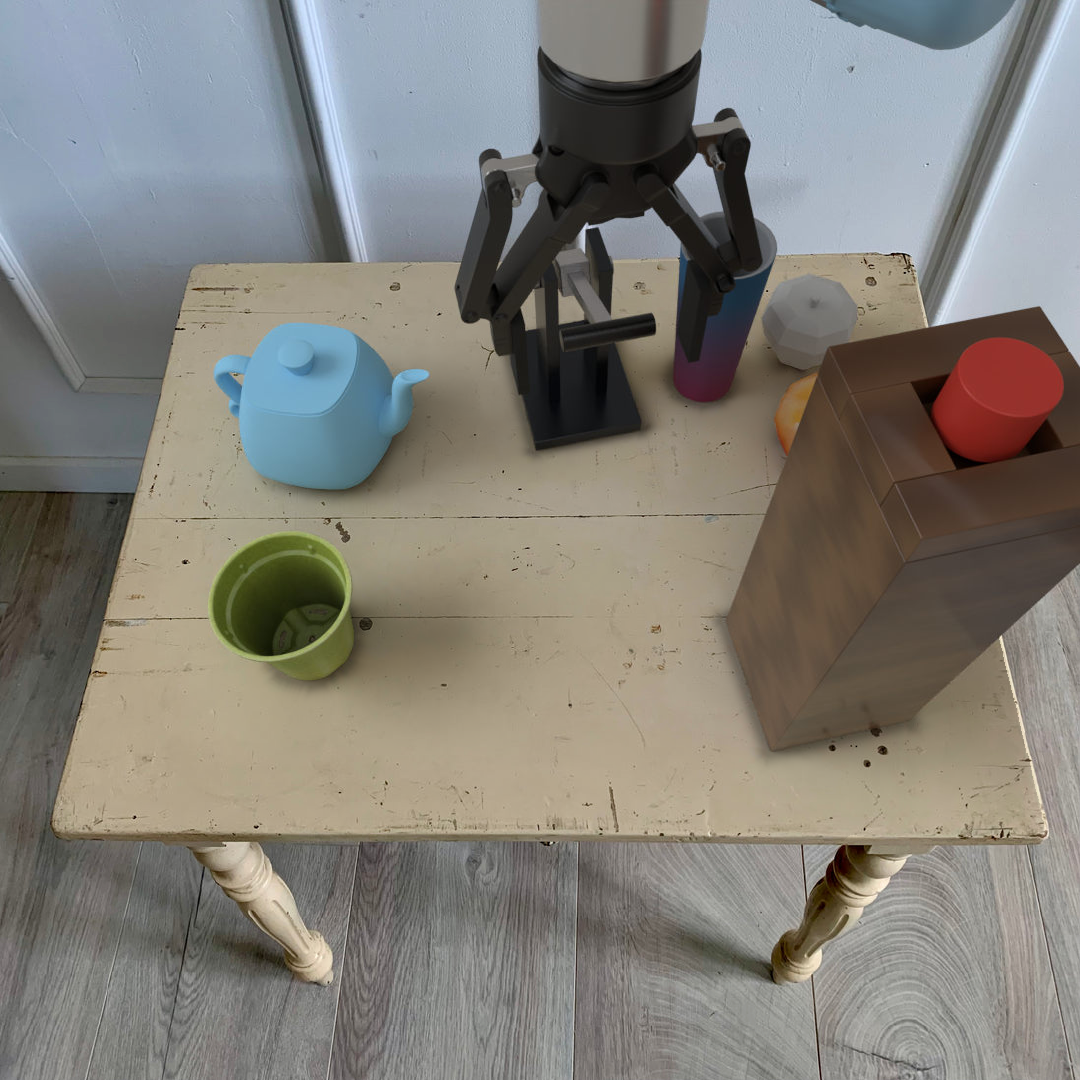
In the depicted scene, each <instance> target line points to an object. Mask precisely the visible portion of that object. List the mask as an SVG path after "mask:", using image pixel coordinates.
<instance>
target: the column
mask: <svg viewBox="0 0 1080 1080" xmlns="http://www.w3.org/2000/svg"><path fill="white" fill-rule="evenodd" d="M989 338H1011V339H1016V340H1020V341H1023V342H1026V343H1029V344H1031V345H1033V346H1035V347H1037V348H1038V349H1040V350H1041V351H1043V352H1044V353H1046V354H1047V355H1048V356H1049V357H1050V358H1051V359H1052V360H1053V361H1054V362H1055V364H1056V365H1057V366H1058V368H1059V370H1060V372H1061V374H1062V377H1063V382H1064V390H1063V395H1062V398H1061V400H1060V401H1059V403H1058V404H1057V405H1056V407H1055V408H1054V409H1053V411H1052V412H1051V413H1050V414H1049V416H1048V417H1047V418H1046V420H1045V421H1044V422H1043V424H1042V425H1041V426H1040V427H1039V429H1038V430H1037V431H1036V433H1035V434H1034V435H1033V436H1032V438H1031V439H1030V440H1029V442H1028V443H1027V444H1026V445H1025V447H1024V448H1023V449H1022V450H1021V451H1020V452H1019V453H1018V454H1017V455H1015V456H1014V457H1012V458H1009V459H1007V460H1004V461H1000V462H989V463H987V462H978V461H973V460H970V459H967V458H964V457H962V456H960V455H958V454H956V453H954V452H953V451H951V450H950V449H949V448H947V447H946V446H945V445H944V444H943V442H942V441H941V439H940V437H939V435H938V433H937V431H936V429H935V427H934V426H933V424H932V422H931V409H932V406H933V404H934V402H935V400H936V398H937V397H938V395H939V393H940V391H941V390H942V388H943V386H944V384H945V383H946V381H947V379H948V377H949V376H950V374H951V372H952V371H953V369H954V367H955V365H956V364H957V362H958V360H959V358H960V357H961V355H962V354H963V352H964V351H965V350H966V349H967V348H968V347H970V346H971V345H973V344H974V343H976V342H979V341H981V340H985V339H989ZM817 373H818V376H817V378H816V380H815V383H814V386H813V388H812V391H811V394H810V396H809V399H808V402H807V404H806V407H805V410H804V413H803V415H802V418H801V421H800V423H799V426H798V429H797V431H796V434H795V437H794V439H793V442H792V445H791V447H790V450H789V453H788V455H787V456H786V458H785V460H784V464H783V466H782V469H781V472H780V475H779V477H778V480H777V482H776V484H775V487H774V491H773V493H772V496H771V499H770V501H769V504H768V507H767V508H766V512H765V514H764V517H763V520H762V522H761V526H760V528H759V531H758V533H757V536H756V539H755V542H754V544H753V546H752V549H751V551H750V554H749V557H748V560H747V563H746V565H745V568H744V571H743V574H742V576H741V578H740V581H739V584H738V587H737V589H736V592H735V594H734V597H733V600H732V603H731V606H730V608H729V610H728V614H727V616H726V618H725V623H726V626H727V629H728V632H729V635H730V638H731V640H732V643H733V646H734V650H735V652H736V655H737V657H738V661H739V664H740V667H741V670H742V672H743V675H744V678H745V681H746V684H747V687H748V690H749V693H750V696H751V699H752V701H753V705H754V707H755V710H756V714H757V717H758V719H759V722H760V724H761V728H762V731H763V734H764V736H765V739H766V742H767V745H768V748H769V750H770V751H769V752H776V751H780V750H786V749H790V748H793V747H799V746H802V745H807V744H812V743H816V742H820V741H825V740H829V739H834V738H837V737H842V736H847V735H852V734H856V733H861V732H865V731H869V730H874V729H877V728H882V727H887V726H891V725H896V724H900V723H905V722H909V721H910V720H911V719H912V718H913V717H914V716H916V715H917V714H918V713H919V712H920V711H921V710H922V709H923V708H924V707H925V706H927V705H928V704H929V703H930V702H931V701H932V700H933V699H934V698H935V697H936V696H937V695H938V694H940V693H941V692H942V691H943V690H944V689H945V688H946V687H947V686H948V685H950V683H952V682H953V681H954V680H955V679H956V678H957V677H959V675H960V674H961V673H962V672H964V671H965V670H966V669H967V668H968V667H969V666H970V665H971V664H972V663H974V661H975V660H977V659H978V658H979V657H980V656H982V654H983V653H985V652H986V651H987V650H988V649H989V648H990V647H991V646H992V645H993V644H994V643H995V642H996V641H997V640H998V639H1000V638H1001V637H1002V636H1003V635H1004V634H1005V633H1006V632H1007V631H1008V630H1009V629H1011V627H1013V626H1014V625H1015V624H1016V623H1017V622H1018V621H1019V620H1020V619H1021V618H1022V617H1023V616H1025V614H1027V613H1028V612H1029V611H1030V610H1031V609H1032V608H1033V607H1034V606H1035V605H1036V604H1038V603H1039V602H1040V601H1041V600H1042V599H1043V598H1044V597H1045V596H1046V595H1047V594H1048V593H1050V592H1051V591H1052V590H1054V588H1055V587H1056V586H1057V585H1058V584H1060V582H1061V581H1063V580H1064V579H1065V578H1066V577H1067V576H1068V575H1069V574H1070V573H1071V572H1072V571H1073V570H1074V569H1075V568H1077V567H1078V566H1079V565H1080V365H1079V363H1078V361H1077V360H1076V358H1075V357H1074V356H1073V354H1072V353H1071V351H1069V348H1068V346H1067V345H1066V343H1065V341H1064V340H1063V339H1062V338H1061V336H1060V334H1059V332H1058V331H1057V330H1056V328H1055V327H1054V325H1053V324H1052V322H1051V320H1050V319H1049V318H1048V316H1047V315H1046V313H1045V312H1044V310H1043V308H1042V307H1041V306H1039V305H1037V306H1032V307H1027V308H1022V309H1018V310H1011V311H1006V312H1001V313H995V314H990V315H986V316H980V317H976V318H970V319H965V320H958V321H954V322H949V323H944V324H943V323H942V324H939V325H933V326H928V327H923V328H917V329H913V330H907V331H902V332H897V333H892V334H885V335H881V336H876V337H875V336H874V337H870V338H865V339H860V340H855V341H849V342H848V343H844V344H839V345H833V346H829V347H828V348H827V351H826V354H825V356H824V359H823V362H822V364H820V367H819V370H818V372H817Z"/></svg>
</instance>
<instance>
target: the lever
mask: <svg viewBox="0 0 1080 1080" xmlns="http://www.w3.org/2000/svg"><path fill="white" fill-rule="evenodd" d="M553 265H554V268H555V271H556V275H557V278H558V292H559V293H560V295H561V297H562V298H567V297H568V298H569V297H573V296H574V297H575V300H576V301H577V303H578V305H579V307H580V308H581V311H582V312H583V314H584V313H585V315H586V317H587V319H588V321H589V322H590V324H587V325H581V326H576V327H571V328H565V329H560V331H559V336H560V343H561V347H562V350H563V352H569V351H574V350H579V349H585V348H590V347H595V346H601V345H606V344H611V343H615V344H617V343H622V342H626V341H633V340H637V339H642V338H649V337H654V336H656V333H657V322H656V321H657V320H656V318H655V314H654V313H653V312H646V313H641V314H636V315H630V316H625V317H620V318H619V317H618V318H615V319H614V318H612V315H611V316H610V315H609V313H608V311H607V310H606V308H605V307H604V305H603V303H602V302H601V300H600V299H599V297H598V295H597V294H596V292H595V291H594V289H593V287H592V286H591V275H590V263H589V260H588V258H587V257H586V255H585V251H583V249H582V248H581V247H579V248H574V249H568V250H563V251H562V250H561V251H560V252H559V253H558V255H557V256H556V258H555V259H554V260H553Z"/></svg>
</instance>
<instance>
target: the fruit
mask: <svg viewBox="0 0 1080 1080" xmlns="http://www.w3.org/2000/svg"><path fill="white" fill-rule="evenodd" d="M817 376H818V372H815V373H812V374H810V375H807V376H804V377H802V378H801V379H798V380H797V381H795V382H792V383H791V384H790V385H789V386H788V388H787V389H786V391H785V393H784V395H783V396H782V397H781V399H780V401H779V404H778V407H777V409H776V412H775V415H774V418H773V422H774V425H775V431H776V435H777V438H778V441H779V444H780V446H781V448H782V450H783V452H784V454H785V456H786V457H787V455H788V453H789V450H790V447H791V445H792V442H793V439H794V437H795V434H796V431H797V429H798V426H799V423H800V421H801V418H802V415H803V413H804V410H805V407H806V404H807V402H808V399H809V396H810V394H811V391H812V388H813V386H814V383H815V380H816V378H817Z"/></svg>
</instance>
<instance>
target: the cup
mask: <svg viewBox="0 0 1080 1080" xmlns="http://www.w3.org/2000/svg"><path fill="white" fill-rule="evenodd" d="M699 217H700V219H701V220H702V222H703V223H704V224H705V226H706V227H707V229H708V230H709V231H710V233H711V234H712V235H713V237H714V238H715V240H716V241H717V242H718V244H719V245H721V244H723V243H725V242H727V241H730V236H729V232H728V228H727V224H726V220H725V216H724V212H723V210H721V211H714V212H709V213H706V214H703V215H701V216H699ZM754 220H755V225H756V230H757V235H758V239H759V244H760V249H761V254H762V259H763V263H762V265H761V266H760V267H759V268H758V269H757V270H755V271H752V272H746V271H745V270H744V269H741V270H739V271H737V272H735V273H733V274H732V275H733V277H734V280H735V282H736V286H735V288H734V289H733V290H732V291H731V292H729V293H727V294H724V297H723V298H724V299H723V302H722V308H721V310H720V312H719V313H718V315H716V316H711V317H707V322H706V328H705V333H704V338H703V343H702V349H701V354H700V359H699V361H696V362H691V363H688V361H687V358H686V355H685V353H684V350H683V348H682V345H681V342H680V340H679V337H678V335H677V329H678V322H679V315H680V309H681V302H682V295H683V289H684V282H685V275H686V268H687V262H688V260H693V259H694V258H693V257H692V255H691V254H690V253H689V251H688V250H687V249H686V248H685V246H684V245H683V244H682V242H681V241H680V248H679V265H678V283H677V297H676V298H677V301H676V316H675V317H676V319H675V336H674V352H673V353H674V354H673V368H672V369H673V370H672V382H673V385H674V387H675V389H676V390H677V392H678V393H679V395H681V396H683V397H684V398H686V399H688V400H690V401H693V402H695V403H696V402H697V403H711V402H715V401H717V400H719V399H722V398H723V397H725V396H726V395H727V394H728V393H729V391H730V389H731V387H732V385H733V381H734V379H735V376H736V373H737V369H738V366H739V364H740V362H741V358H742V355H743V352H744V350H745V347H746V344H747V341H748V338H749V335H750V332H751V329H752V327H753V323H754V320H755V317H756V315H757V312H758V310H759V306H760V304H761V300H762V297H763V295H764V293H765V289H766V286H767V283H768V280H769V277H770V275H771V273H772V268H773V265H774V263H775V259H776V257H777V253H778V242H777V239H776V236H775V234H773V231H772V230H771V229H770V228H769V227H768V226H767V225H766V224H765V223H764V222H762V221H761V220H759V219H758V218H756V217H754Z"/></svg>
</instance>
